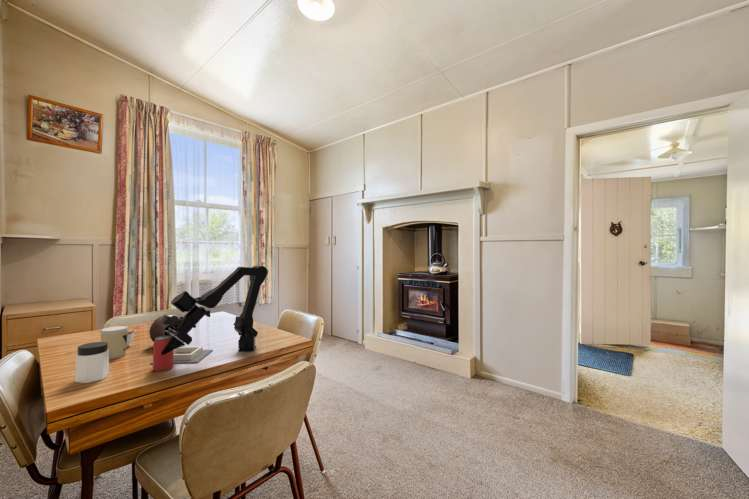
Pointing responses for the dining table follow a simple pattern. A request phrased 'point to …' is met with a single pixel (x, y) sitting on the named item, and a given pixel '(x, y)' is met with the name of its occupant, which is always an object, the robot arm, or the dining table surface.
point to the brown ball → (158, 327)
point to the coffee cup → (115, 340)
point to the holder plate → (189, 355)
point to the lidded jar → (129, 336)
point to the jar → (92, 362)
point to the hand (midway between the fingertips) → (159, 352)
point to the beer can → (161, 360)
